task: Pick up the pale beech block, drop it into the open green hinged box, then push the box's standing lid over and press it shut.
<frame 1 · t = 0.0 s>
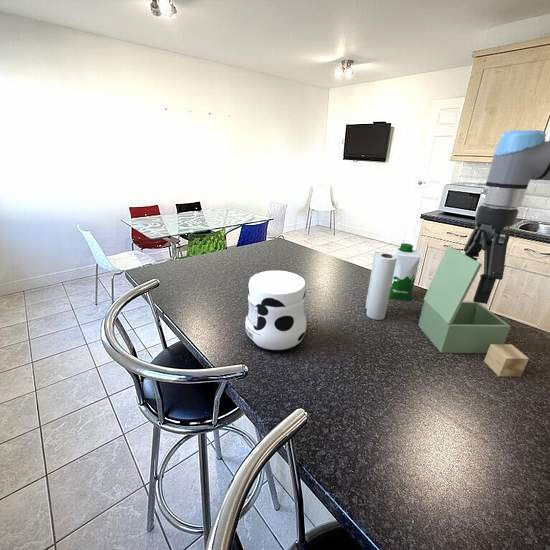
hand: (471, 290, 75), 18 cm above the kitchen island, tool pointing down, fingers open, 13 cm apart
block: (501, 368, 75), on the kitchen island
milk container: (275, 337, 85), on the kitchen island
paper towel roll: (375, 315, 98), on the kitchen island
lid: (449, 283, 79), point 18 cm above the kitchen island, hinge at 80.0°
green hinged box: (456, 338, 87), on the kitchen island
milk carton: (397, 297, 110), on the kitchen island
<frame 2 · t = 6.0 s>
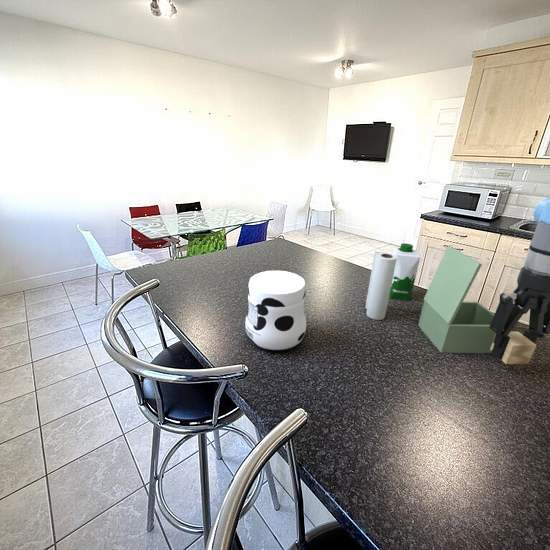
hand: (508, 355, 73), 4 cm above the kitchen island, tool pointing down, fingers closed on block, 6 cm apart
block: (508, 356, 73), point 4 cm above the kitchen island, touching gripper
everything else where it was.
when the fingers open (8 cm above the kitchen island, at t = 10.1 s): block drops 7 cm, resting on green hinged box.
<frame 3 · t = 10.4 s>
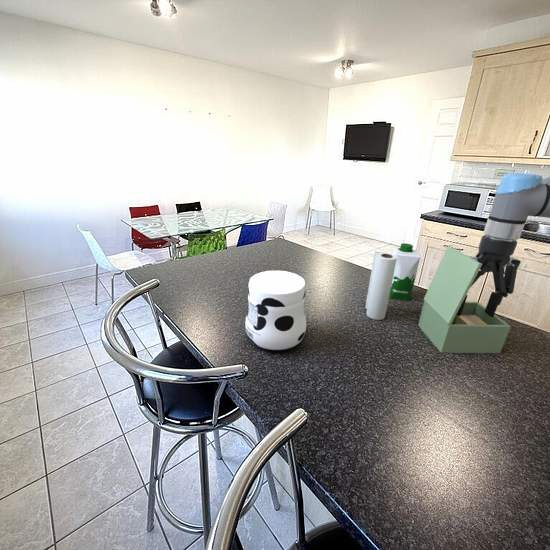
hand: (472, 313, 83), 9 cm above the kitchen island, tool pointing down, fingers open, 9 cm apart
block: (466, 336, 86), point 1 cm above the kitchen island, touching green hinged box
everything else where it was.
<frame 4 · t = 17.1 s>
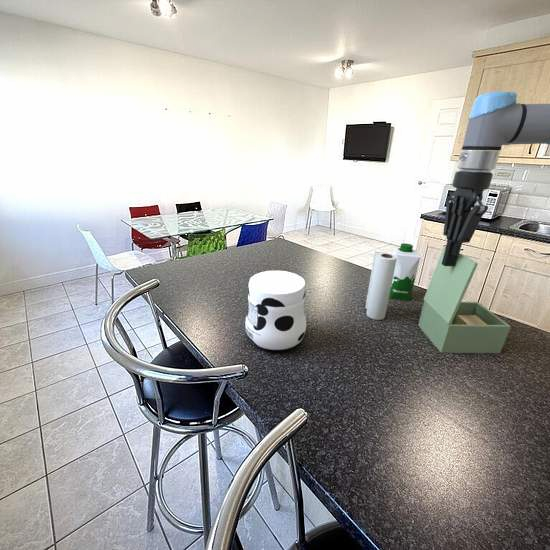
hand: (448, 265, 77), 23 cm above the kitchen island, tool pointing down, fingers closed
lid: (447, 283, 79), point 18 cm above the kitchen island, hinge at 83.4°, touching gripper
everything else where it was.
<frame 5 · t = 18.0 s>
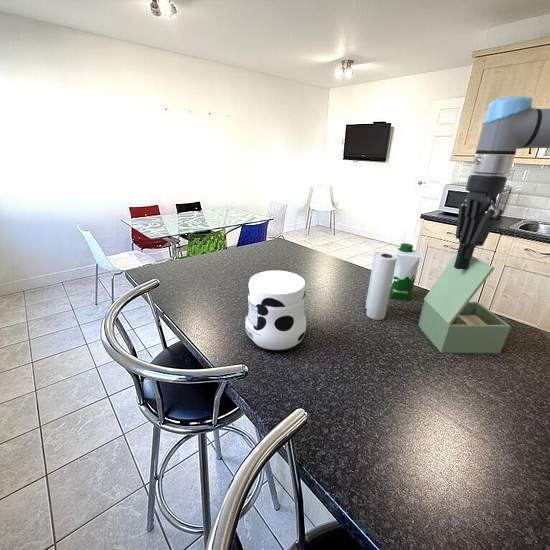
hand: (460, 268, 77), 22 cm above the kitchen island, tool pointing down, fingers closed
lid: (455, 285, 80), point 17 cm above the kitchen island, hinge at 68.3°, touching gripper
everything else where it was.
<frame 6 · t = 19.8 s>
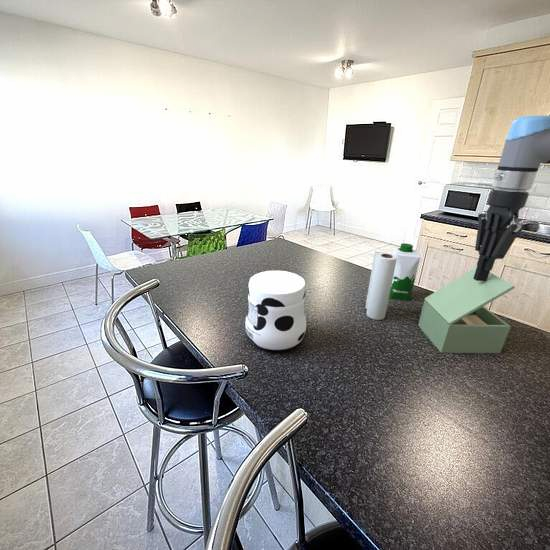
hand: (479, 279, 79), 19 cm above the kitchen island, tool pointing down, fingers closed
lid: (464, 293, 81), point 15 cm above the kitchen island, hinge at 39.9°
everything else where it was.
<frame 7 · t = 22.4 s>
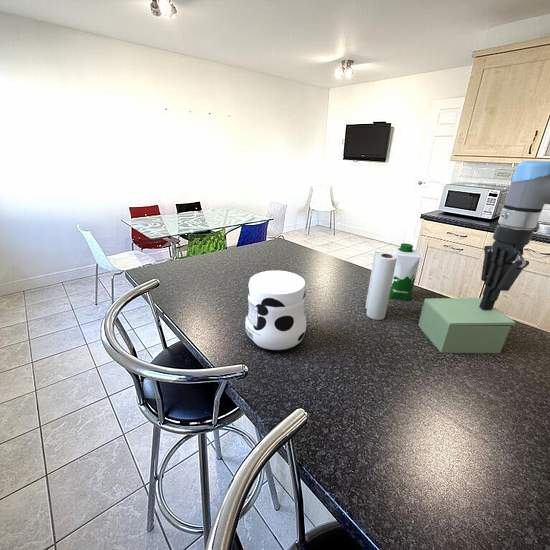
hand: (485, 308, 83), 10 cm above the kitchen island, tool pointing down, fingers closed
lid: (466, 310, 83), point 9 cm above the kitchen island, hinge at 1.6°, touching gripper
everything else where it was.
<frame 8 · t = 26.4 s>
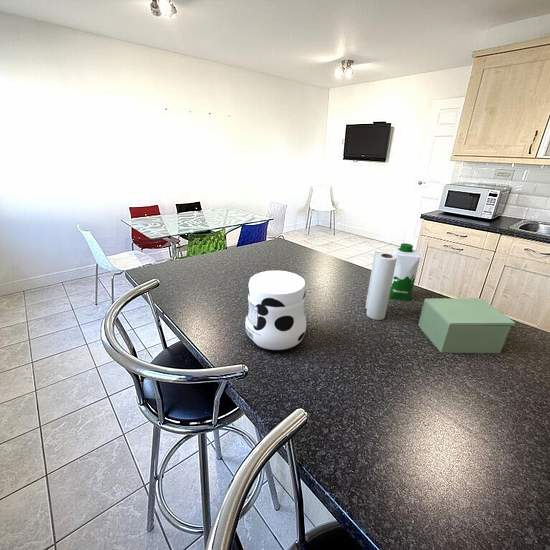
lid: (466, 310, 83), point 9 cm above the kitchen island, hinge at 1.2°
everything else where it was.
at the end: block inside the target area in the green hinged box (3.0 cm from its centre), point 0.8 cm above the green hinged box's base; lid at +1° (first picture: +80°) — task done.
